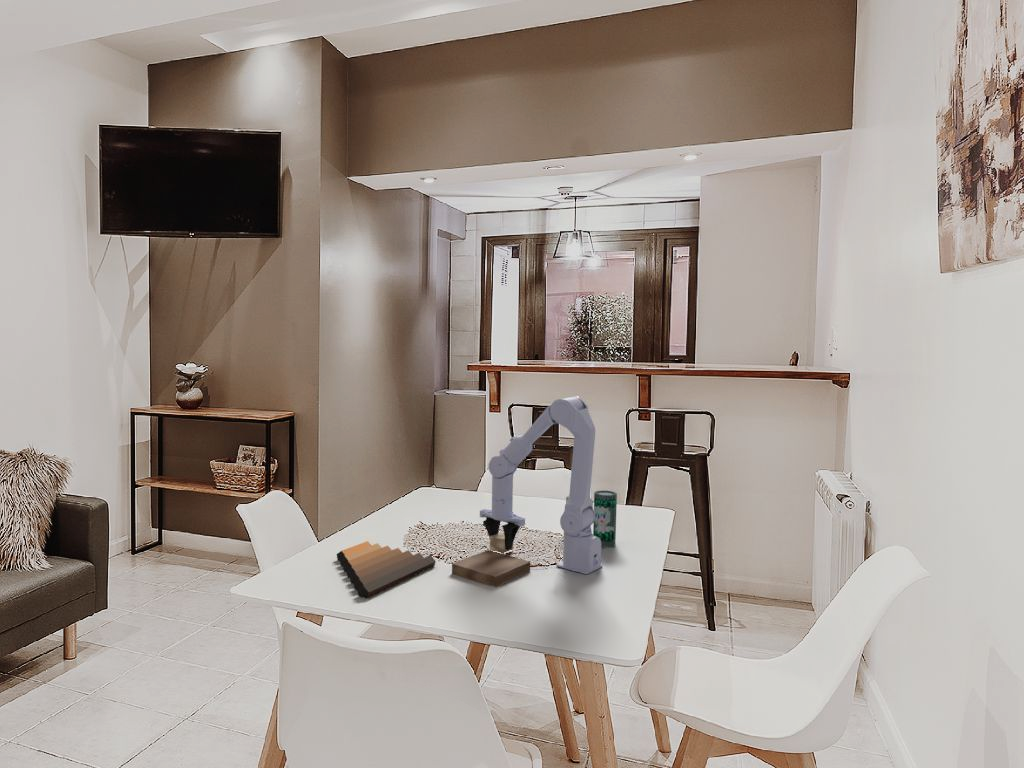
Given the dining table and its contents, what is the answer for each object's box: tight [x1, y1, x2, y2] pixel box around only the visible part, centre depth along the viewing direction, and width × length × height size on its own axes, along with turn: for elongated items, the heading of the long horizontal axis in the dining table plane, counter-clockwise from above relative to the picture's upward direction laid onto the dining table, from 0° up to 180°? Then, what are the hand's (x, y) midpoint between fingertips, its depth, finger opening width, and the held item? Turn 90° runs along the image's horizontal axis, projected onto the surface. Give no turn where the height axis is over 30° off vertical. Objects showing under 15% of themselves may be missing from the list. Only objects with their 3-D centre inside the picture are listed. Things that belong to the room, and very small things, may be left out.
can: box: [592, 490, 618, 548], centre depth 192 cm, size 6×6×15 cm
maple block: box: [489, 532, 514, 553], centre depth 184 cm, size 4×4×4 cm
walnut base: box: [451, 549, 531, 588], centre depth 168 cm, size 14×14×2 cm
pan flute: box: [336, 540, 436, 599], centre depth 167 cm, size 25×3×25 cm
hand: (501, 547), depth 184 cm, fingers closed on maple block, 4 cm apart
